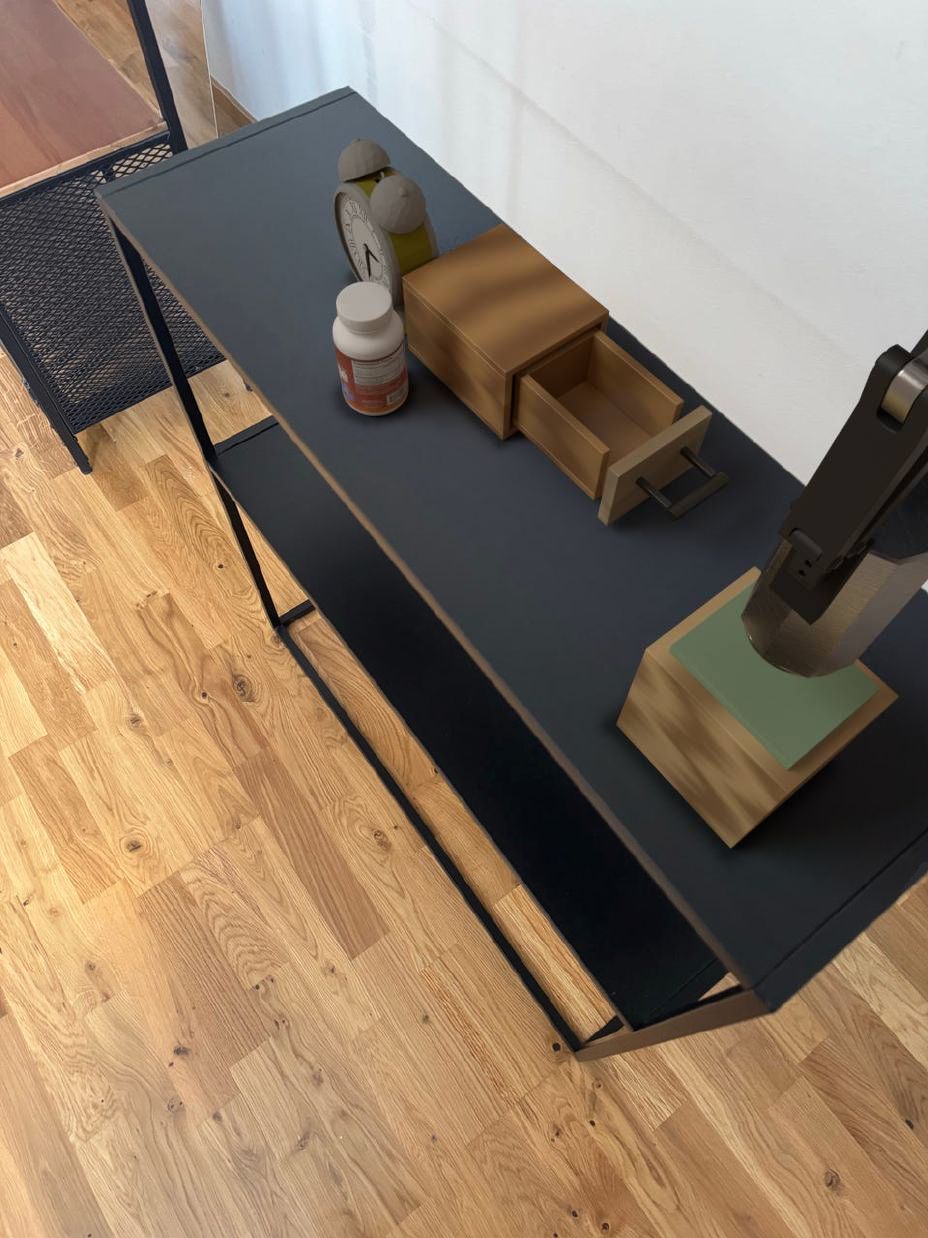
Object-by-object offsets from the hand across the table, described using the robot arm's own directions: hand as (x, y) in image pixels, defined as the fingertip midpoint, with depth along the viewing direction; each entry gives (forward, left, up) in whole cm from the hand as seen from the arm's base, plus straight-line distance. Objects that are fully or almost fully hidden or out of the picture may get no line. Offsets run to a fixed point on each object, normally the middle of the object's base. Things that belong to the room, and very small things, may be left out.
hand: (847, 560), depth 44 cm
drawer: (+17, -20, -25) cm, 36 cm away
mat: (0, 0, -13) cm, 13 cm away
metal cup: (0, 0, -7) cm, 7 cm away
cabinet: (+32, -27, -26) cm, 49 cm away
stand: (0, 0, -26) cm, 26 cm away
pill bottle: (+41, -18, -26) cm, 52 cm away
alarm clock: (+45, -30, -26) cm, 60 cm away
